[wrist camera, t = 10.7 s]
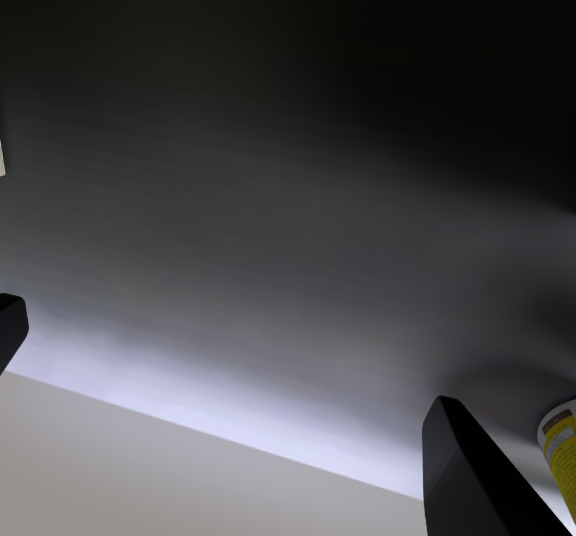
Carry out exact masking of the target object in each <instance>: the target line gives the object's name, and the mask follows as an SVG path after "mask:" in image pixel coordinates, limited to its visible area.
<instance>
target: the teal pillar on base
mask: <svg viewBox="0 0 576 536" xmlns="http://www.w3.org/2000/svg"><path fill="white" fill-rule="evenodd" d="M3 175H5V168H4V162H3V155H2V148H1V142H0V176H3Z"/></svg>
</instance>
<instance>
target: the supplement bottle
mask: <svg viewBox="0 0 576 536" xmlns="http://www.w3.org/2000/svg"><path fill="white" fill-rule="evenodd" d="M537 437H538V443H539V445H540V448H541V450H542V453H543V455H544V457H545V459H546V461H547V464H548V466H549V468H550V470H551V472H552V474H553V477H554V479H555V481H556V483H557V485H558V488H559V490H560V492H561V494H562V497H563V499H564V501H565V503H566V505H567V508H568V510H569V512H570V514H571V517H572V519H573V521H574V523H575V525H576V399H575V400H571V401H568V402H566V403H563V404H561V405H559V406H557V407H556V408H554V409H553V410H551V411H550V412H549V413H548V414H547V415H546V416H545V417H544V418H543V419H542V421H541V423H540V425H539V427H538V432H537Z"/></svg>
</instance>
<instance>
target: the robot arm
mask: <svg viewBox="0 0 576 536" xmlns="http://www.w3.org/2000/svg"><path fill="white" fill-rule="evenodd" d="M28 331H29V324H28V317H27V311H26V304H25V301H24V299H23V298H21V297H20V296H16V295H11V294H7V293H0V375H1V374H2V372H3V371H4V369H5V368H6V367H7V365H8V364H9V362H10V361H11V359H12V358H13V356H14V355H15V353H16V352H17V350H18V349H19V347H20V346H21V344H22V343H23V341H24V340H25V338H26V336H27V334H28ZM422 454H423V497H424V509H425V518H426V526H427V533H428V536H573V535H572V534H571V533H570V532H569V531H568V529H567V528H566V527H565V526H564V525H563V523H562V522H561V521H560V520H559V519H558V517H557V516H556V515H555V514H554V513H553V512H552V510H551V509H550V508H549V507H548V506H547V504H546V503H545V502H544V501H543V500H542V498H541V497H540V496H539V495H538V494H537V492H536V491H535V490H534V489H533V488H532V486H531V485H530V484H529V483H528V482H527V480H526V479H525V478H524V477H523V476H522V474H521V473H520V472H519V471H518V470H517V468H516V467H515V466H514V465H513V464H512V463H511V461H510V460H509V459H508V458H507V457H506V455H505V454H504V453H503V452H502V451H501V449H500V448H499V447H498V446H497V445H496V443H495V442H494V441H493V440H492V439H491V437H490V436H489V435H488V434H487V433H486V431H485V430H484V429H483V428H482V427H481V425H480V424H479V423H478V422H477V421H476V419H475V418H474V417H473V416H472V415H471V413H470V412H469V411H468V410H467V409H466V408H465V406H464V405H463V404H462V403H461V402H460V401H459V400H458V399H455V398H451V397H447V396H442V395H441V396H438V397H437V398H436V399H435V401H434V402H433V404H432V406H431V408H430V410H429V412H428V414H427V416H426V418H425V420H424V422H423V427H422Z"/></svg>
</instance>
